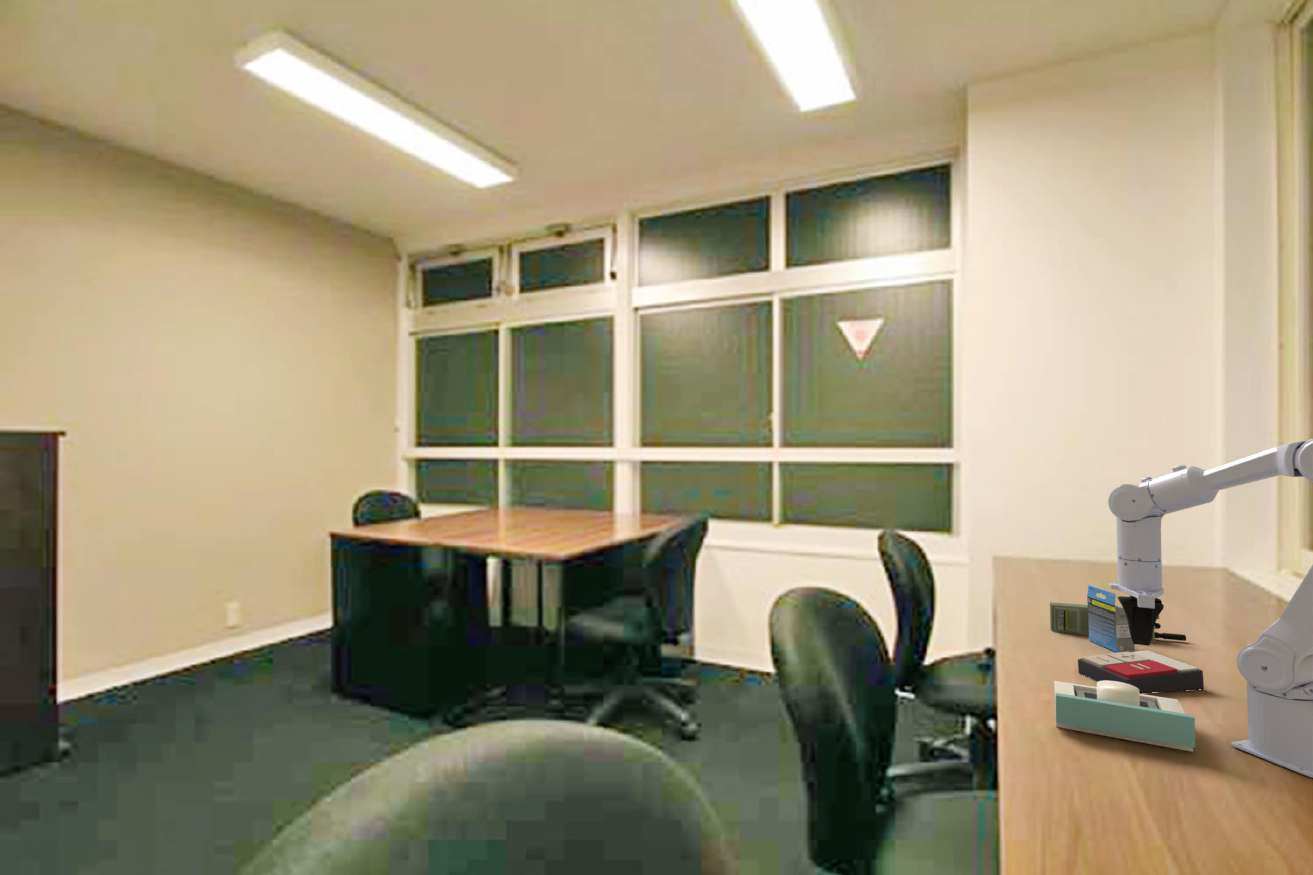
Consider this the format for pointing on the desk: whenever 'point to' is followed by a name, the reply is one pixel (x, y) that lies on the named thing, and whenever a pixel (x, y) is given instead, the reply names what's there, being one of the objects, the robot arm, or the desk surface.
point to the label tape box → (1108, 622)
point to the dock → (1160, 703)
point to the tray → (1125, 718)
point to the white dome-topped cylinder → (1118, 692)
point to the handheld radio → (1086, 621)
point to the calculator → (1142, 671)
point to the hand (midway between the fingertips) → (1140, 643)
